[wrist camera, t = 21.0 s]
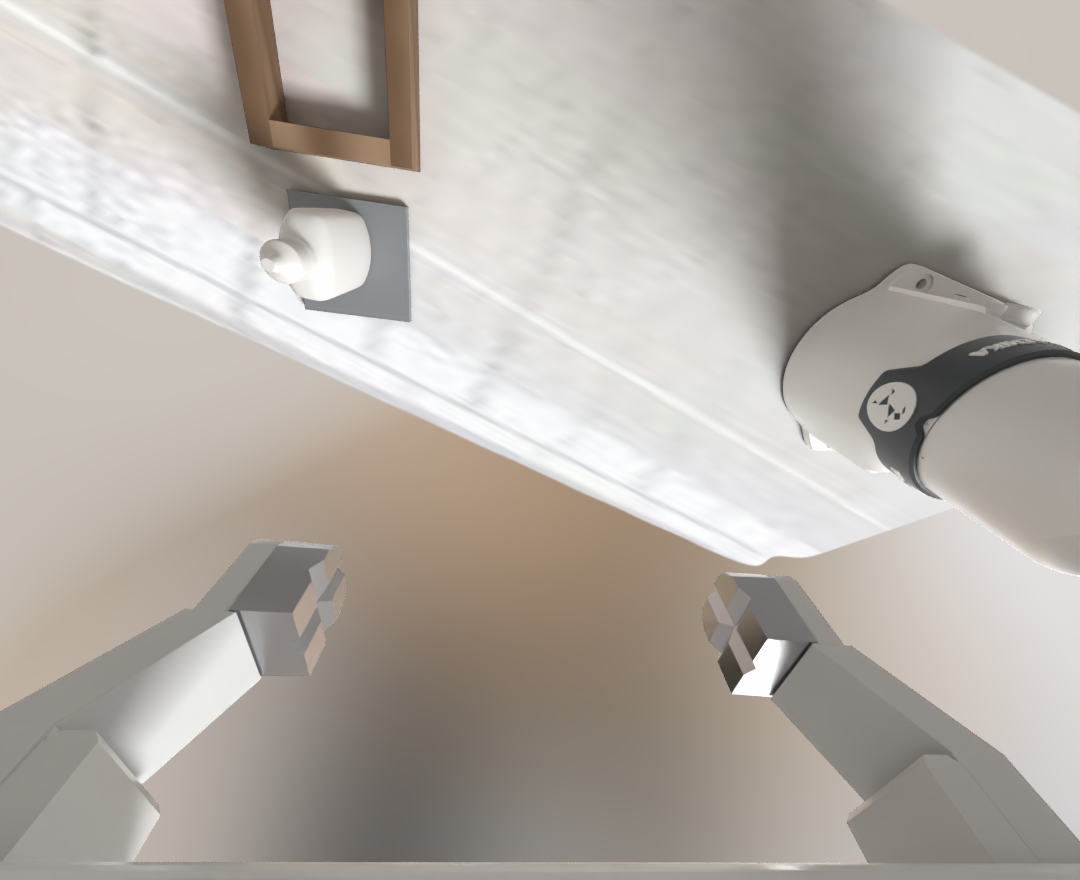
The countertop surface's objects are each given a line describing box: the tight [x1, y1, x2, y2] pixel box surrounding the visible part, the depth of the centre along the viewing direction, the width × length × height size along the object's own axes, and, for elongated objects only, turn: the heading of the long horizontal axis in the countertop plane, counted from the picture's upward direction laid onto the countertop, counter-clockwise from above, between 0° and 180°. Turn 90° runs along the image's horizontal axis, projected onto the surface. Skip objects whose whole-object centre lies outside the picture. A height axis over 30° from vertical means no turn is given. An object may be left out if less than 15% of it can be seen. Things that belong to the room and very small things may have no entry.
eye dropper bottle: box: [260, 208, 371, 301], centre depth 27 cm, size 4×6×12 cm
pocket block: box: [224, 0, 420, 172], centre depth 26 cm, size 11×11×2 cm
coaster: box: [287, 189, 411, 322], centre depth 33 cm, size 9×9×1 cm
